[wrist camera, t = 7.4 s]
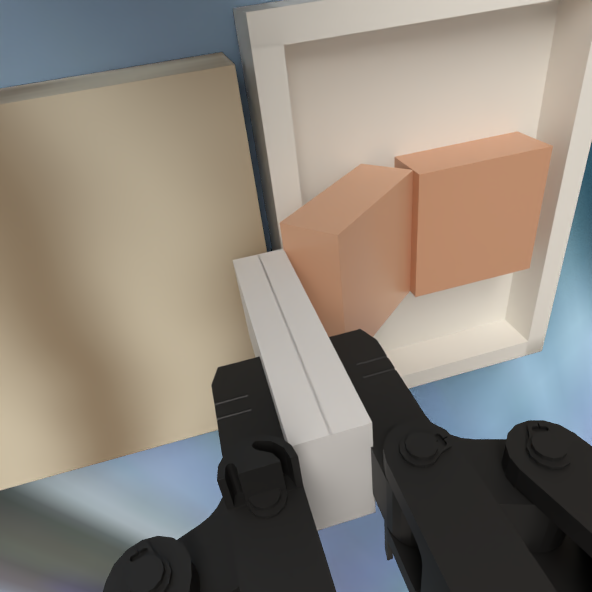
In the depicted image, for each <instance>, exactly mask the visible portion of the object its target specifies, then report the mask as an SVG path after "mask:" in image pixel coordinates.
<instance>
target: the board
mask: <svg viewBox="0 0 592 592" xmlns="http://www.w3.org/2000/svg"><path fill="white" fill-rule="evenodd" d="M266 252H267V249H266V243H265V238H264V232H263V226H262V220H261V214H260V209H259V203H258V197H257V191H256V185H255V179H254V174H253V168H252V162H251V156H250V150H249V145H248V139H247V133H246V127H245V121H244V115H243V110H242V104H241V98H240V92H239V86H238V80H237V75H236V69H235V64H234V63H233V62H232V61H231V60H229V59H228V58H227V57H226V56H225V55H224V54H223V53H222V52H219V53H213V54H207V55H201V56H195V57H188V58H182V59H176V60H170V61H164V62H158V63H152V64H146V65H140V66H134V67H128V68H122V69H116V70H110V71H104V72H98V73H91V74H85V75H79V76H73V77H67V78H61V79H55V80H49V81H43V82H37V83H31V84H25V85H19V86H13V87H7V88H1V89H0V490H3V489H7V488H10V487H14V486H17V485H21V484H25V483H28V482H32V481H36V480H39V479H43V478H46V477H50V476H54V475H57V474H61V473H64V472H68V471H72V470H75V469H79V468H82V467H86V466H90V465H93V464H97V463H100V462H104V461H108V460H111V459H115V458H118V457H122V456H126V455H129V454H133V453H136V452H140V451H144V450H147V449H151V448H154V447H158V446H162V445H165V444H169V443H172V442H176V441H180V440H183V439H187V438H190V437H194V436H198V435H201V434H205V433H208V432H212V431H216V430H218V425H217V418H216V412H215V405H214V399H213V393H212V387H211V384H212V382H213V379H214V376H215V373H216V371H217V368H218V367H221V366H225V365H229V364H232V363H236V362H240V361H244V360H248V359H252V358H255V354H254V350H253V347H252V343H251V340H250V336H249V332H248V328H247V323H246V319H245V314H244V310H243V305H242V301H241V296H240V292H239V287H238V283H237V278H236V274H235V269H234V265H233V260H235V259H240V258H244V257H248V256H253V255H257V254H261V253H266Z"/></svg>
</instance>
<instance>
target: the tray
mask: <svg viewBox="0 0 592 592" xmlns="http://www.w3.org/2000/svg"><path fill="white" fill-rule="evenodd" d="M233 14H234V20H235V26H236V32H237V38H238V44H239V50H240V56H241V63H242V69H243V75H244V81H245V87H246V93H247V99H248V105H249V111H250V117H251V123H252V130H253V136H254V142H255V148H256V154H257V160H258V166H259V172H260V178H261V184H262V190H263V197H264V203H265V209H266V215H267V221H268V227H269V233H270V239H271V245H272V251H275V250H279V249H283V243H282V236H281V229H280V222H281V221H283V220H284V219H285V218H287V217H288V216H290V215H291V214H292V213H294V212H295V211H296V210H298V209H299V208H301V207H302V206H303V205H305V204H306V203H307V202H309V201H310V200H312V199H313V198H314V197H316V196H317V195H319V194H320V193H321V192H323V191H324V190H325V189H327V188H328V187H330V186H331V185H332V184H334V183H335V182H336V181H338V180H339V179H341V178H342V177H343V176H345V175H346V174H347V173H349V172H350V171H352V170H353V169H354V168H356V167H357V166H358V165H360V164H368V165H376V166H385V167H393V168H394V157H396V156H401V155H405V154H410V153H415V152H420V151H425V150H430V149H434V148H439V147H444V146H449V145H454V144H459V143H463V142H468V141H473V140H478V139H483V138H488V137H492V136H497V135H502V134H507V133H512V132H517V131H518V132H520V133H523V134H525V135H527V136H530V137H532V138H535V139H537V140H540V141H542V142H545V143H547V144H549V145H552V146H553V149H552V154H551V159H550V165H549V170H548V175H547V180H546V185H545V191H544V196H543V201H542V206H541V211H540V217H539V222H538V227H537V232H536V238H535V243H534V248H533V253H532V258H531V264H530V268H529V269H525V270H521V271H517V272H513V273H509V274H505V275H501V276H497V277H493V278H489V279H485V280H481V281H477V282H473V283H469V284H465V285H462V286H458V287H454V288H450V289H446V290H442V291H438V292H434V293H430V294H426V295H422V296H418V297H415V296H414V295H413V294H412V293H411V291H410V292H409V293H408V294H407V295H406V296H405V298H404V299H403V300H402V301H401V303H400V304H399V305H398V306H397V308H396V309H395V310H394V311H393V313H392V314H391V315H390V316H389V318H388V319H387V320H386V321H385V323H384V324H383V325H382V326H381V328H380V329H379V330H378V331H377V333H376V334H375V335H374V336H373V337H374V338H375V339H377V341H378V342H379V344H380V345H381V347H382V348H383V350H384V352H385V353H386V355H387V358H389V359H390V361H391V362H392V364H393V366H394V368H395V370H397V372H398V373H399V375H400V377H401V378H402V380H403V381H404V383H405V384H406V386H407V387H408V389H409V388H412V387H416V386H419V385H423V384H426V383H430V382H433V381H437V380H441V379H444V378H448V377H451V376H455V375H458V374H462V373H465V372H469V371H473V370H476V369H480V368H483V367H487V366H490V365H494V364H497V363H501V362H504V361H508V360H512V359H515V358H519V357H522V356H526V355H529V354H533V353H536V352H540V351H542V348H543V344H544V340H545V335H546V331H547V327H548V323H549V318H550V314H551V310H552V306H553V301H554V297H555V293H556V289H557V284H558V280H559V276H560V272H561V268H562V263H563V259H564V255H565V251H566V246H567V242H568V238H569V234H570V229H571V225H572V221H573V217H574V213H575V208H576V204H577V200H578V196H579V191H580V187H581V183H582V179H583V174H584V170H585V166H586V162H587V158H588V153H589V149H590V145H591V141H592V0H282V1H275V2H269V3H262V4H255V5H249V6H242V7H236V8H233Z"/></svg>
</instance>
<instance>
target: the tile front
mask: <svg viewBox="0 0 592 592" xmlns="http://www.w3.org/2000/svg"><path fill="white" fill-rule="evenodd" d="M412 194H413V170H410V169H401V168H393V167H385V166H376V165H368V164H360V165H358V166H357V167H356V168H354V169H353V170H352V171H350V172H349V173H347V174H346V175H345V176H343V177H342V178H341V179H339V180H338V181H336V182H335V183H334V184H332V185H331V186H330V187H328V188H327V189H325V190H324V191H323V192H321V193H320V194H319V195H317V196H316V197H314V198H313V199H312V200H310V201H309V202H307V203H306V204H305V205H303V206H302V207H301V208H299V209H298V210H296V211H295V212H294V213H292V214H291V215H290V216H288V217H287V218H285V219H284V220H283V221H281V222H280V229H281V236H282V243H283V249H284V251H285V253H286V254H287V256H288V258H289V260H290V262H291V264H292V266H293V268H294V270H295V272H296V274H297V276H298V278H299V280H300V282H301V284H302V286H303V288H304V290H305V292H306V294H307V296H308V298H309V300H310V302H311V304H312V306H313V307H314V309H315V311H316V313H317V315H318V317H319V319H320V321H321V323H322V325H323V327H324V329H325V331H326V333H327V335H328V337H331V336H335V335H339V334H342V333H346V332H350V331H354V330H358V329H362V330H363V331H365V332H366V333H368V334H369V335H371V336H372V337H373V336H374V335H375V334H376V333H377V331H378V330H379V329H380V328H381V326H382V325H383V324H384V323H385V321H386V320H387V319H388V318H389V316H390V315H391V314H392V313H393V311H394V310H395V309H396V308H397V306H398V305H399V304H400V303H401V301H402V300H403V299H404V298H405V296H406V295H407V294H408V293H409V292H410V273H411V233H412Z"/></svg>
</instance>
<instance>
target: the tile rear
mask: <svg viewBox="0 0 592 592" xmlns="http://www.w3.org/2000/svg"><path fill="white" fill-rule="evenodd" d="M552 149H553V146H552V145H549V144H547V143H545V142H542V141H540V140H537V139H535V138H532V137H530V136H527V135H525V134H523V133H520V132H518V131H517V132H512V133H507V134H502V135H497V136H492V137H488V138H483V139H478V140H473V141H468V142H463V143H459V144H454V145H449V146H444V147H439V148H434V149H430V150H425V151H420V152H415V153H410V154H405V155H401V156H396V157H394V168H401V169H410V170H413V194H412V233H411V273H410V291H411V293H412V294H413V295H414V296H415V297H418V296H422V295H426V294H430V293H434V292H438V291H442V290H446V289H450V288H454V287H458V286H462V285H465V284H469V283H473V282H477V281H481V280H485V279H489V278H493V277H497V276H501V275H505V274H509V273H513V272H517V271H521V270H525V269H529V268H530V264H531V258H532V253H533V248H534V243H535V238H536V232H537V227H538V222H539V217H540V211H541V206H542V201H543V196H544V191H545V185H546V180H547V175H548V170H549V165H550V159H551V154H552Z"/></svg>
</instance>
